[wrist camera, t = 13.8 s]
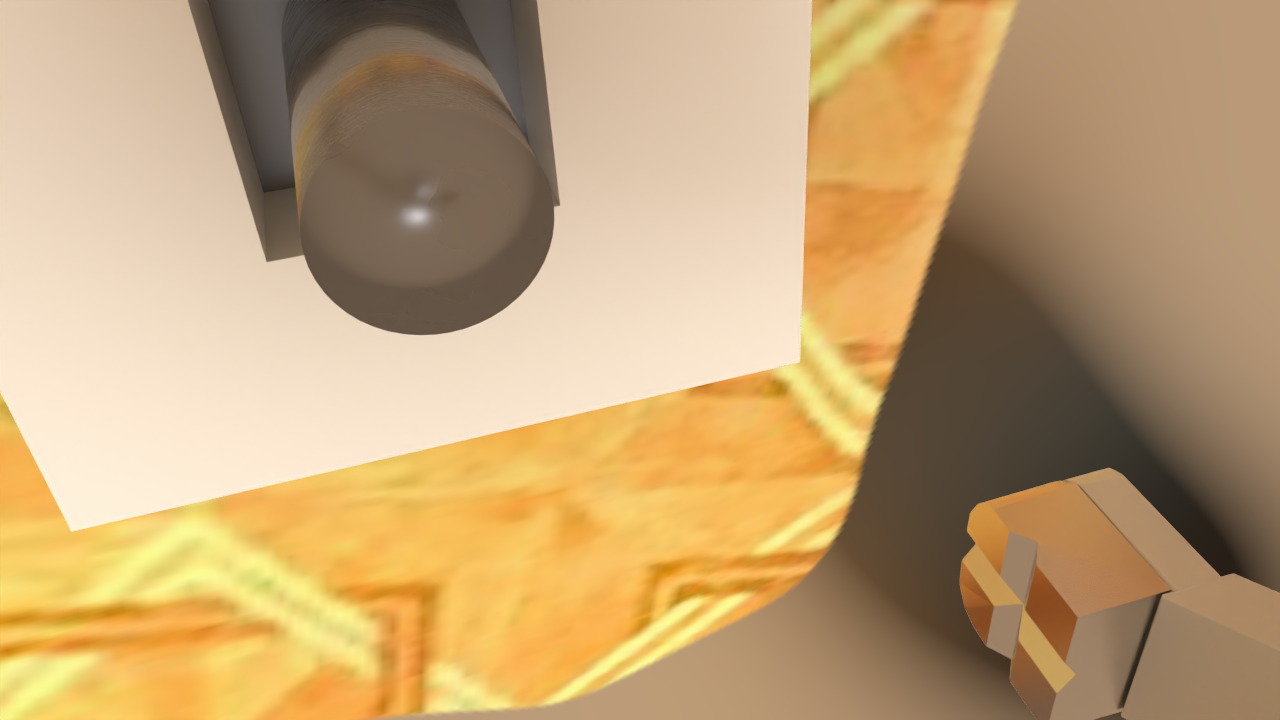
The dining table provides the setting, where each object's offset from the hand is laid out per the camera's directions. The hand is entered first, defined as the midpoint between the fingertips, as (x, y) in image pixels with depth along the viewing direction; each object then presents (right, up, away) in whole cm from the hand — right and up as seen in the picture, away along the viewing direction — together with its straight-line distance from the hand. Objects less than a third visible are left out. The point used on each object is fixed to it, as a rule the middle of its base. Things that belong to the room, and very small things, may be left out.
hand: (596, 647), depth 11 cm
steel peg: (-6, +11, +16) cm, 20 cm away
